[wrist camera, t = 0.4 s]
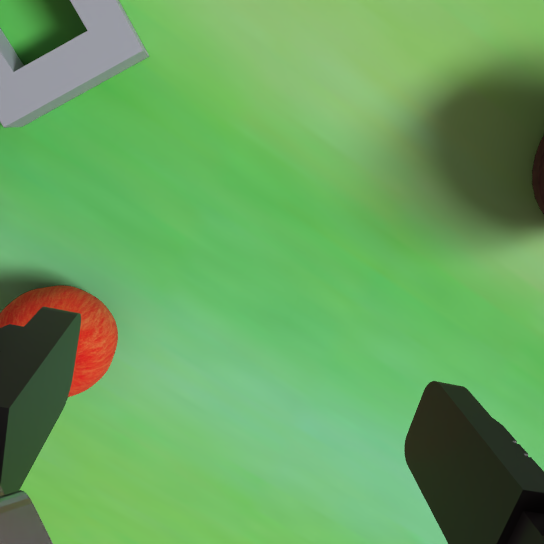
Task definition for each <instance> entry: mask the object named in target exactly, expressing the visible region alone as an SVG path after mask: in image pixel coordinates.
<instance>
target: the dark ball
mask: <svg viewBox="0 0 544 544" xmlns="http://www.w3.org/2000/svg"><path fill="white" fill-rule="evenodd" d="M532 185H533V190H534V195H535V199H536V201H537V203H538V205H539V208H540V209H541V211H542V212H543V214H544V136H543V138H542V140H541V142H540V144H539V147H538V150H537V152H536V155H535V159H534V165H533V170H532Z"/></svg>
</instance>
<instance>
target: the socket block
mask: <svg viewBox="0 0 544 544" xmlns="http://www.w3.org/2000/svg"><path fill="white" fill-rule="evenodd" d="M70 1H71V3H72V5H73V6H74V8H75V10H76V12H77V13H78V15H79V17H80V18H81V20H82V22H83V24H84V25H85V27H86V29H87V31H86V32H84V33H83V34H81V35H79V36H77V37H75V38H74V39H72V40H70V41H68V42H67V43H65V44H63V45H61V46H59V47H58V48H56V49H54V50H52V51H50V52H49V53H47V54H45V55H43V56H41V57H40V58H38V59H36V60H34V61H32V62H31V63H29V64H27V65H25V66H24V65H23V63H22V62H21V60H20V58H19V57H18V55H17V54H16V52H15V51H14V49H13V47H12V46H11V44H10V43H9V41H8V39H7V38H6V36H5V35H4V33H3V32H2V30H1V28H0V122H1V123H2V125H3V126H4V127H22V126H24V125H26V124H28V123H30V122H32V121H33V120H35V119H37V118H39V117H41V116H42V115H44V114H46V113H48V112H50V111H51V110H53V109H55V108H57V107H59V106H60V105H62V104H64V103H66V102H68V101H70V100H71V99H73V98H75V97H77V96H79V95H80V94H82V93H84V92H86V91H88V90H89V89H91V88H93V87H95V86H97V85H98V84H100V83H102V82H104V81H106V80H107V79H109V78H111V77H113V76H115V75H117V74H118V73H120V72H122V71H124V70H126V69H127V68H129V67H131V66H133V65H135V64H136V63H138V62H140V61H142V60H144V59H145V58H147V57H149V55H148V53H147V51H146V49H145V47H144V46H143V44H142V42H141V40H140V38H139V36H138V35H137V33H136V31H135V29H134V27H133V25H132V24H131V22H130V20H129V18H128V16H127V15H126V13H125V11H124V9H123V7H122V5H121V4H120V2H119V0H70Z"/></svg>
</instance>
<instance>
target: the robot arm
mask: <svg viewBox="0 0 544 544" xmlns="http://www.w3.org/2000/svg"><path fill="white" fill-rule="evenodd" d="M80 326H81V314H80V313H76V312H70V311H65V310H60V309H55V308H49V307H42V308H41V309H40V310H39V311H38V312H37V313H36V314H35V315H34V316H33V317H32V318H31V320H30V321H29V322H28V323H27V324H26V325H25V326H24V327H23V326H18V325H12V324H9V325H6V326H4V327H1V328H0V544H53V543H52V541H51V539H50V537H49V535H48V533H47V531H46V529H45V527H44V525H43V523H42V521H41V519H40V517H39V515H38V513H37V511H36V509H35V507H34V505H33V503H32V501H31V499H30V498H29V496H28V495H27V494H26V493H25V492H24V491H21V490H20V491H19V489H20V487H21V486H22V484H23V482H24V480H25V478H26V476H27V475H28V473H29V471H30V469H31V467H32V465H33V464H34V462H35V460H36V458H37V456H38V454H39V452H40V451H41V449H42V447H43V445H44V443H45V441H46V440H47V438H48V436H49V434H50V432H51V430H52V429H53V427H54V425H55V423H56V421H57V419H58V417H59V416H60V414H61V412H62V410H63V408H64V406H65V404H66V401H67V398H68V395H69V392H70V388H71V384H72V378H73V372H74V366H75V359H76V353H77V346H78V340H79V333H80ZM516 442H517V441H516V440H515V439H514V438H513V437H512V435H511V434H510V433H509V432H508V431H507V430H506V429H505V428H504V426H503V425H501V424H500V423H499V422H497V421H496V420H495V419H493V418H492V417H491V416H490V415H489V414H488V412H487V411H486V410H485V409H484V408H483V407H482V406H481V404H480V403H479V402H478V401H477V400H476V399H475V398H474V396H473V395H472V394H471V393H470V392H469V391H468V390H467V389H466V388H465V387H463V386H457V385H452V384H447V383H442V382H436V381H432V382H430V383H429V384H428V385H427V386H426V388H425V390H424V392H423V395H422V397H421V400H420V403H419V405H418V408H417V410H416V413H415V415H414V418H413V421H412V423H411V426H410V428H409V431H408V434H407V436H406V440H405V458H406V462H407V465H408V467H409V469H410V471H411V472H412V474H413V476H414V478H415V480H416V482H417V484H418V486H419V488H420V490H421V492H422V494H423V496H424V498H425V499H426V501H427V503H428V505H429V507H430V509H431V511H432V513H433V515H434V517H435V519H436V521H437V523H438V525H439V527H440V528H441V530H442V532H443V534H444V536H445V538H446V540H447V542H448V544H544V472H543V470H542V469H541V468H540V467H539V466H538V465H537V464H536V463H535V461H534V460H533V459H532V458H530V457H528V453H527V452H526V451H525V450H524V449H523V448H522V447H521V446H520V444H516Z"/></svg>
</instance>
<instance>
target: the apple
mask: <svg viewBox="0 0 544 544" xmlns="http://www.w3.org/2000/svg"><path fill="white" fill-rule="evenodd" d="M42 307H49V308H55V309H60V310H65V311H70V312H76V313H80V314H81V326H80V333H79V340H78V346H77V353H76V359H75V366H74V372H73V378H72V384H71V388H70V392H69V395H68V397H70V396H73V395H76V394H79V393H81V392H83V391H85V390H87V389H88V388H90V387H91V386H93V385H94V384H95V383H96V382H97V381H98V380H100V379H101V378H102V376H103V375H104V374H105V373H106V371H107V370H108V368H109V366H110V364H111V362H112V359H113V356H114V353H115V350H116V346H117V340H118V332H117V326H116V322H115V320H114V318H113V316H112V314H111V313H110V311H109V310H108V308H107V307H106V306H105V305H104V304H103V303H102V302H101V301H100V300H99V299H97V298H96V297H95V296H93V295H91V294H89V293H87V292H85V291H83V290H81V289H78V288H75V287H71V286H51V287H44V288H38V289H34V290H31V291H28V292H26V293H24V294H22V295H20V296H19V297H17V298H16V299H14V300H13V301H12V302H11V303H9V304H8V305H7V306H6V307H5V308H4V309H3V310H2V312H1V313H0V328H1V327H4V326H6V325H9V324H12V325H18V326H23V327H24V326H25V325H26V324H27V323H28V322H29V321H30V320H31V318H32V317H33V316H34V315H35V314H36V313H37V312H38V311H39V310H40V309H41V308H42Z"/></svg>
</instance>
